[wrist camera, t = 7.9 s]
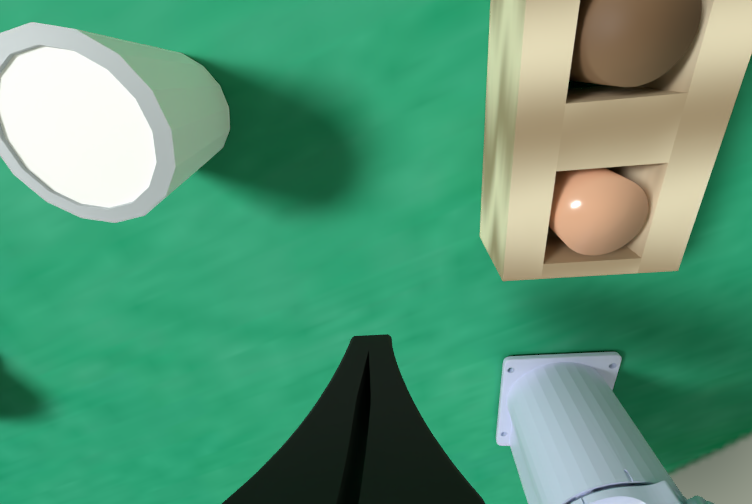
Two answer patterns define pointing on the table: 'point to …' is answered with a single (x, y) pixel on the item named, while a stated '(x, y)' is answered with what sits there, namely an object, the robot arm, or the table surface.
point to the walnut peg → (631, 39)
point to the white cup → (104, 119)
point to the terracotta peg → (596, 210)
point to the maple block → (600, 136)
